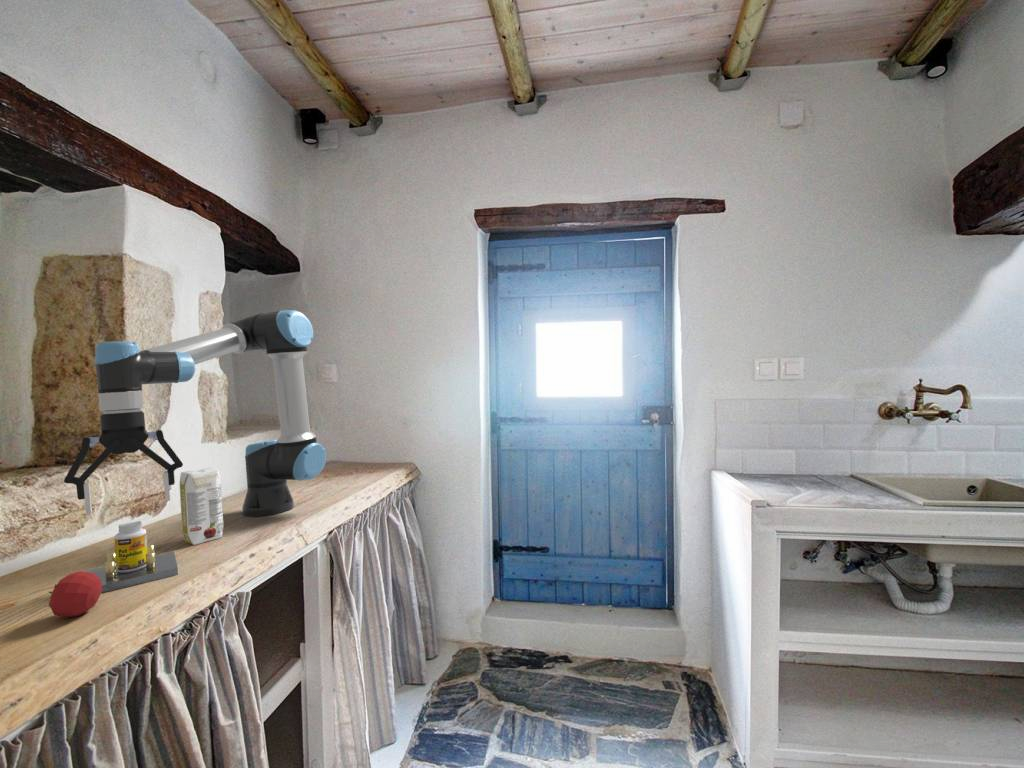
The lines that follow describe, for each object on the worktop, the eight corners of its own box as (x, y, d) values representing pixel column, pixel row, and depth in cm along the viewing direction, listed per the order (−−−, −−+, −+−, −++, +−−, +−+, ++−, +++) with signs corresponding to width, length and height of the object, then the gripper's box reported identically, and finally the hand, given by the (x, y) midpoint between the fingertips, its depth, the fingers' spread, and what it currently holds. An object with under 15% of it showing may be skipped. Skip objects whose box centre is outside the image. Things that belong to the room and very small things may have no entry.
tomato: (105, 563, 88) (55, 561, 86) (81, 603, 82) (27, 603, 80) (113, 585, 93) (66, 585, 91) (91, 625, 87) (40, 626, 85)
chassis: (174, 557, 115) (173, 537, 115) (178, 574, 104) (176, 551, 104) (86, 577, 105) (85, 555, 105) (80, 598, 94) (78, 573, 94)
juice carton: (226, 537, 129) (222, 468, 129) (190, 547, 122) (186, 474, 122) (215, 532, 133) (211, 466, 133) (180, 542, 126) (176, 472, 126)
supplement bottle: (114, 576, 100) (111, 528, 100) (118, 568, 105) (115, 522, 105) (147, 569, 103) (144, 523, 103) (149, 561, 108) (147, 517, 108)
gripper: (188, 406, 114) (195, 491, 115) (46, 416, 99) (54, 516, 99) (191, 406, 109) (198, 497, 109) (40, 418, 93) (49, 523, 94)
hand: (130, 506), depth 104 cm, fingers open, 13 cm apart
